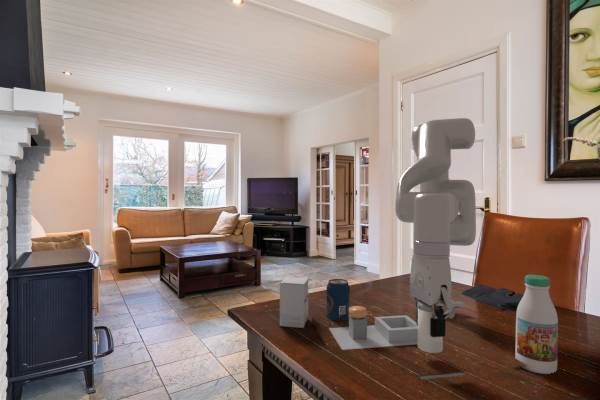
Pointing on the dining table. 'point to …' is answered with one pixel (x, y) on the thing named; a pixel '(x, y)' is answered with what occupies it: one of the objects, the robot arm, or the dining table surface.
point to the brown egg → (357, 312)
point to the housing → (377, 333)
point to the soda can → (337, 299)
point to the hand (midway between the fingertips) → (430, 330)
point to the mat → (441, 375)
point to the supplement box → (294, 302)
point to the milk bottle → (537, 327)
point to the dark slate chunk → (495, 297)
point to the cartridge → (427, 330)
